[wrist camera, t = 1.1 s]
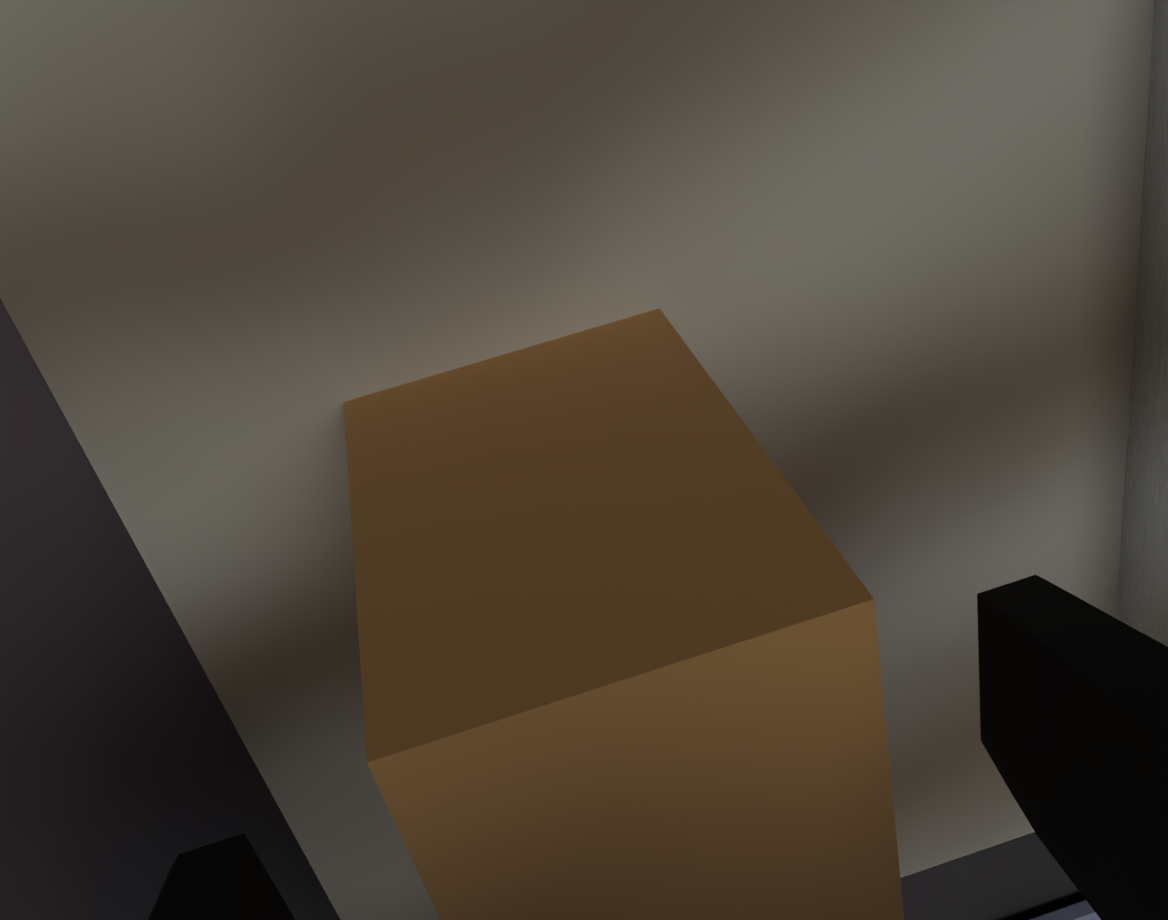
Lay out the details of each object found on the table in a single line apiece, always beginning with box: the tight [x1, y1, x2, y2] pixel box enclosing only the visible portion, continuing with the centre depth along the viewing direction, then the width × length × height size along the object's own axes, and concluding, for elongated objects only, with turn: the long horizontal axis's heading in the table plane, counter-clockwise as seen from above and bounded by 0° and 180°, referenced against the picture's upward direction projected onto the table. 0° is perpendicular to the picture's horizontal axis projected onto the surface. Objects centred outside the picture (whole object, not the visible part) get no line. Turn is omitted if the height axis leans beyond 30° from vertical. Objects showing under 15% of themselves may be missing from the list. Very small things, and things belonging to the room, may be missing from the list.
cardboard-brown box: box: [344, 308, 904, 920], centre depth 12 cm, size 5×4×6 cm
